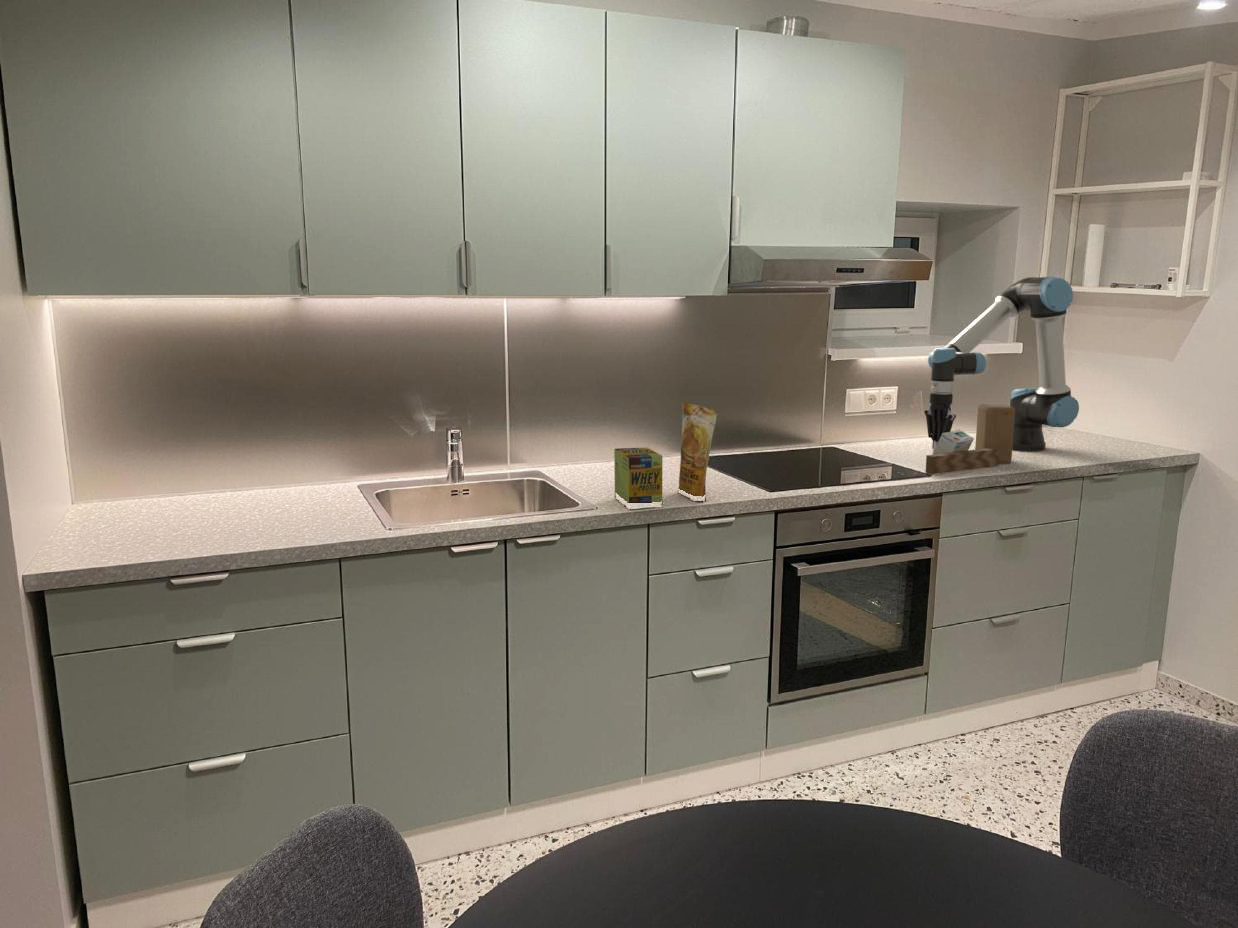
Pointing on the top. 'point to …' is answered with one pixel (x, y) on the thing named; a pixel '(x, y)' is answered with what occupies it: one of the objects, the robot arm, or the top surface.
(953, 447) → the light bulb box
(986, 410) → the wooden block
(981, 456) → the walnut board
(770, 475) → the top surface
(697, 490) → the pancake mix bag
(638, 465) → the protein box
